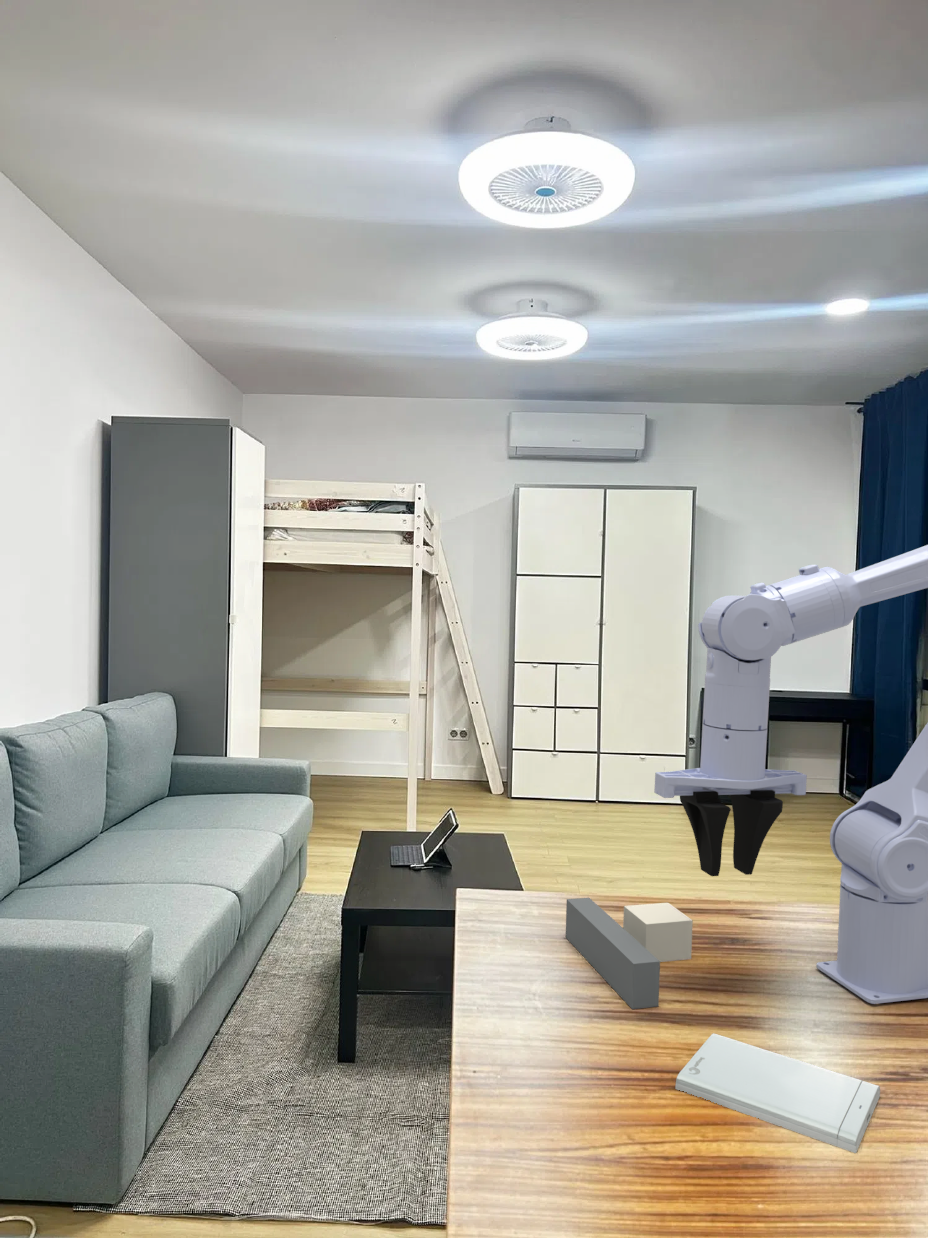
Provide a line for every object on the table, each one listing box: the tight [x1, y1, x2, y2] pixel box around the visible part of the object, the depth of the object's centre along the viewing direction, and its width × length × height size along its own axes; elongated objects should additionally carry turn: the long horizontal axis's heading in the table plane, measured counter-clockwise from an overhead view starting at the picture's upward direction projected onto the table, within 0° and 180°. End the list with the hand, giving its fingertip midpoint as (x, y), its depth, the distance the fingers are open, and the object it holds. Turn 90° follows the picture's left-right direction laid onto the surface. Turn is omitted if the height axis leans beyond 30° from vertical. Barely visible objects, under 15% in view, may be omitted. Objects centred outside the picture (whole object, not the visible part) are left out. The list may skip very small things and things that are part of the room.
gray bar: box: [565, 897, 661, 1010], centre depth 86 cm, size 2×16×4 cm, turn 15°
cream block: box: [622, 902, 694, 963], centre depth 91 cm, size 5×5×4 cm
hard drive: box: [674, 1033, 881, 1154], centre depth 66 cm, size 2×8×12 cm
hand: (726, 872), depth 84 cm, fingers open, 3 cm apart
